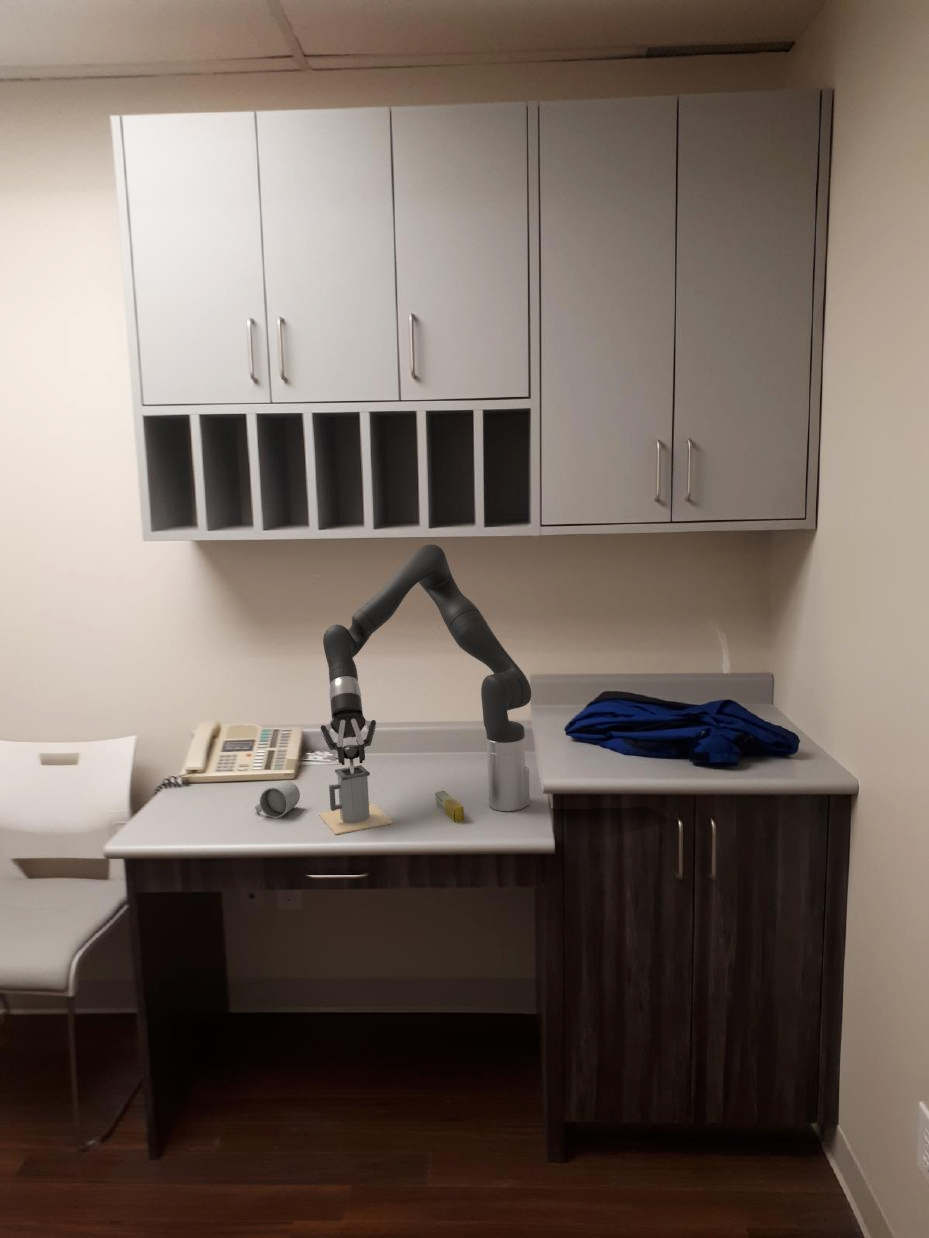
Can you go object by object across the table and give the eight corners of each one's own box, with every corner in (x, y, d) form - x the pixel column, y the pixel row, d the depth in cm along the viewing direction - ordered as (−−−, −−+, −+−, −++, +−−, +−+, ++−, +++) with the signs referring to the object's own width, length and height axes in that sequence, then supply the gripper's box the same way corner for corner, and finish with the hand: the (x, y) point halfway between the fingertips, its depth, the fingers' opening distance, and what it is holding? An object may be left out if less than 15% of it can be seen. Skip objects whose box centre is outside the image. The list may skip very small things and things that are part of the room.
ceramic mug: (303, 807, 226) (300, 777, 225) (288, 819, 218) (285, 788, 217) (264, 805, 228) (262, 776, 227) (249, 817, 221) (246, 787, 220)
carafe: (373, 804, 225) (370, 758, 223) (392, 823, 213) (389, 774, 211) (318, 815, 220) (315, 767, 218) (335, 835, 207) (331, 785, 205)
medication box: (435, 807, 222) (434, 792, 222) (445, 805, 224) (444, 789, 223) (454, 824, 212) (453, 807, 211) (465, 821, 213) (464, 805, 212)
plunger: (359, 798, 218) (355, 743, 216) (363, 803, 215) (360, 747, 212) (344, 801, 216) (341, 746, 214) (349, 806, 213) (345, 750, 211)
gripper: (374, 703, 226) (381, 766, 216) (317, 709, 223) (322, 772, 214) (374, 688, 219) (382, 752, 210) (315, 694, 217) (321, 758, 208)
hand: (352, 762), depth 212 cm, fingers closed on plunger, 3 cm apart
